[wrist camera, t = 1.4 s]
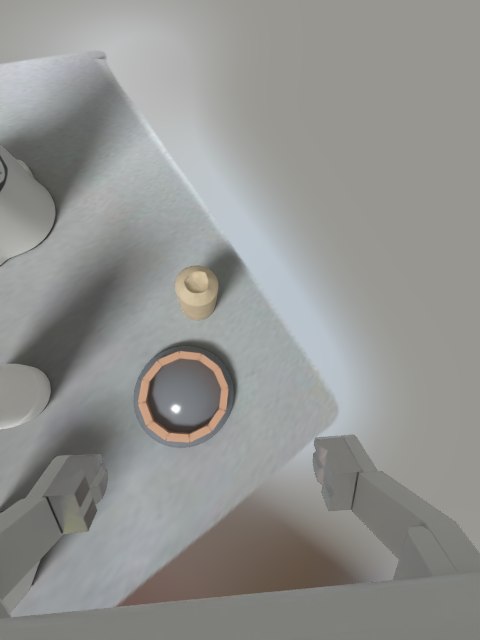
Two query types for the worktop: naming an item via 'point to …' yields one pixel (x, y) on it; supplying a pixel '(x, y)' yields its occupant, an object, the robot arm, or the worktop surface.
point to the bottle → (21, 394)
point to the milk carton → (20, 589)
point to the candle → (197, 291)
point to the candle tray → (183, 396)
